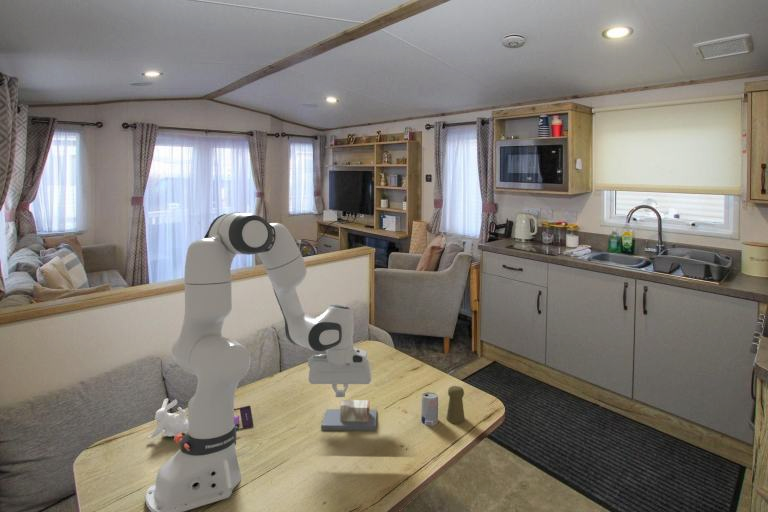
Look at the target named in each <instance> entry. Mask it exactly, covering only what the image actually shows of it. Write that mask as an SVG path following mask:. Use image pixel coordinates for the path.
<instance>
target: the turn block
mask: <svg viewBox="0 0 768 512" xmlns="http://www.w3.org/2000/svg"><path fill="white" fill-rule="evenodd" d="M339 409H340V421H361V422H369V410H370V399H369V400H367V399H363V400H361V399H342V400H341V404H340V407H339Z"/></svg>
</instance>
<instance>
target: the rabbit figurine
mask: <svg viewBox="0 0 768 512" xmlns="http://www.w3.org/2000/svg"><path fill="white" fill-rule="evenodd" d="M162 402H163V403H162V404H161V408H159V409H158V410H157V411H156V412H155V416H154V420H155V421H156V423H157V425H156V427H155V428H154V430H153V432H152V434H151V435H148V436H146V439H152V438H153V439H154V438H155V437H156V436H158V435H161V437H175V435H176V434H179V433H180V434H182V435H183V433H187V432H188V418H187V417H186V416H187V415H188V411H187V410H183V409H182V407H180V406H178V407H177V411H179V412H180V413H178V414H177V413H176V412H175V413H171V412H168V410H169V409H171V408H173V407H175V406H176V405H177V403H178V400H177V399H174V400H172V401H171V402H170V403H168V402H169V398H165V399H164V400H163V401H162ZM161 433H162V434H161Z"/></svg>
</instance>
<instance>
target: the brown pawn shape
mask: <svg viewBox="0 0 768 512" xmlns="http://www.w3.org/2000/svg"><path fill="white" fill-rule="evenodd" d="M464 390H465V389H463V387H461V386H459V385H452V386H449V387H448V389H447V394H448V396H449V400H448V405H447V411H446V412H447V414H446V420H447V422H448V423H450V424H454V425H461V424H464V423H465V422H466V421H465V411H464V402H463V397H464V395H465V391H464Z"/></svg>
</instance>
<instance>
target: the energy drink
mask: <svg viewBox="0 0 768 512" xmlns="http://www.w3.org/2000/svg"><path fill="white" fill-rule="evenodd" d="M438 396H439V395H438V394H437V393H434V392H428V391H427V392H424V393H422V396H421V423H422V424H423V425H426V426H428V427H429V426H431V427H432V426H436V425H437V424H438V423H439V397H438Z"/></svg>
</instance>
